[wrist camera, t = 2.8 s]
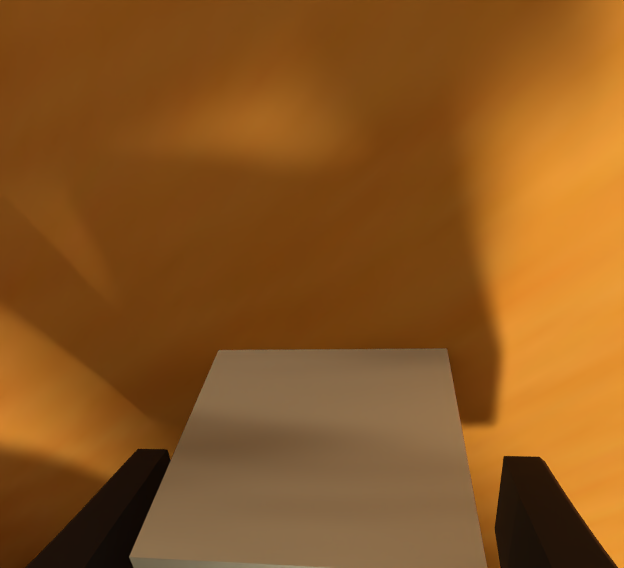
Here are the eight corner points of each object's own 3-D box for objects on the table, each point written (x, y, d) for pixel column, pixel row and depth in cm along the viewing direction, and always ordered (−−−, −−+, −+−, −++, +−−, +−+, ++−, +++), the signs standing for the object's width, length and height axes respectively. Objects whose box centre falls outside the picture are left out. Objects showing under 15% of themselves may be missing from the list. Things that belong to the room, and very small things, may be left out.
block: (440, 501, 12) (467, 742, 8) (252, 494, 13) (198, 716, 9) (446, 345, 10) (488, 576, 6) (219, 347, 11) (129, 556, 7)
